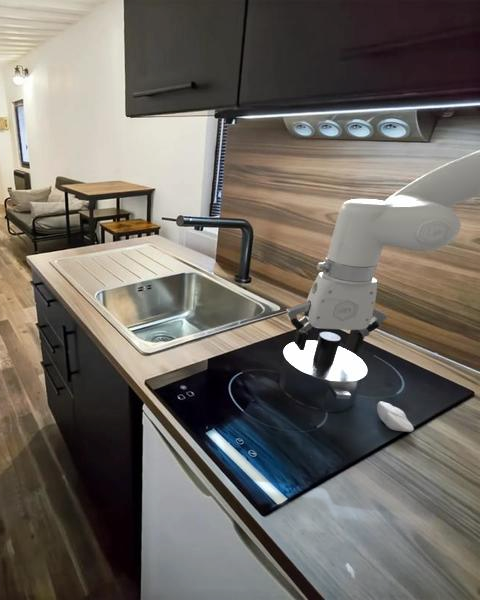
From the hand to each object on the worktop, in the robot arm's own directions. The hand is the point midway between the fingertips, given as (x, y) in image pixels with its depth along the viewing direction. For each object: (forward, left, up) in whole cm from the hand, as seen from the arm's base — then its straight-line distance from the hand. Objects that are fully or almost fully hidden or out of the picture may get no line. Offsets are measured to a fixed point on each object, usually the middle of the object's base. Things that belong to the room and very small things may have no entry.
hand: (325, 348), depth 74 cm
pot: (0, 0, -11) cm, 11 cm away
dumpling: (-10, +9, -11) cm, 18 cm away
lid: (0, 0, -3) cm, 3 cm away
